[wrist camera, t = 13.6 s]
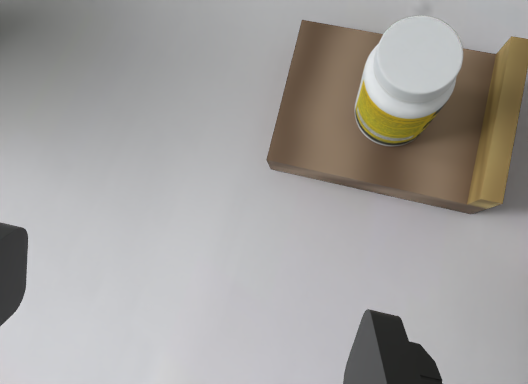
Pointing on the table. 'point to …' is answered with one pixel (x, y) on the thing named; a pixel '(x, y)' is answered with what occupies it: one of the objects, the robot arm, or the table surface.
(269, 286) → the table surface
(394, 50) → the supplement bottle
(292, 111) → the dock
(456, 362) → the table surface
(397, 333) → the robot arm
